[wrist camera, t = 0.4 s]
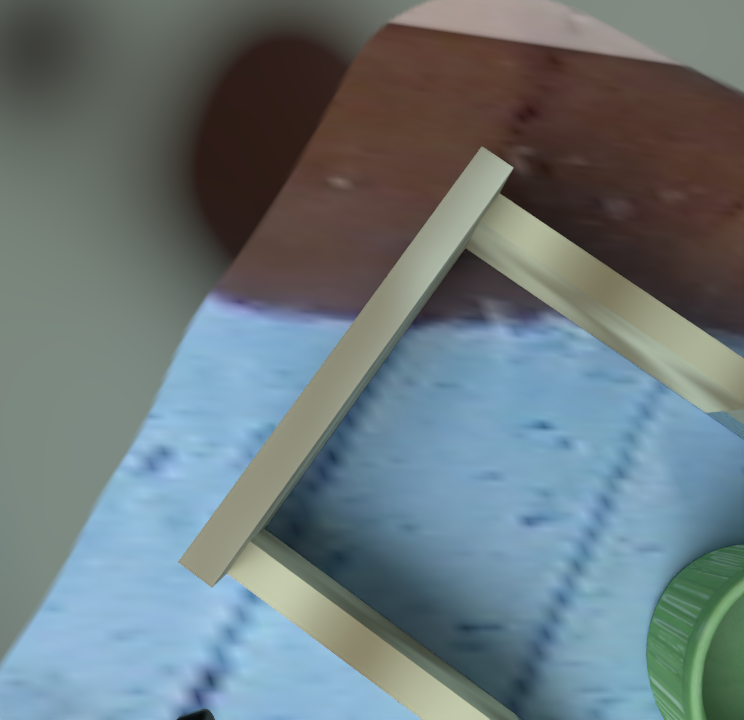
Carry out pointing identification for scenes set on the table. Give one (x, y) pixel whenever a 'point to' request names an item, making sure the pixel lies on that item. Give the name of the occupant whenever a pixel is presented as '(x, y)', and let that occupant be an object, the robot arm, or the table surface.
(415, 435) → the table surface
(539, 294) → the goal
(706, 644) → the ramekin
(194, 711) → the robot arm
